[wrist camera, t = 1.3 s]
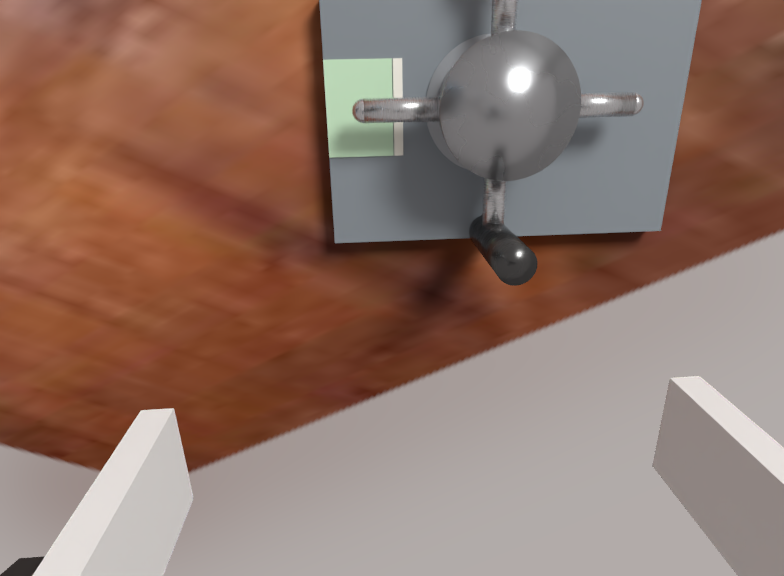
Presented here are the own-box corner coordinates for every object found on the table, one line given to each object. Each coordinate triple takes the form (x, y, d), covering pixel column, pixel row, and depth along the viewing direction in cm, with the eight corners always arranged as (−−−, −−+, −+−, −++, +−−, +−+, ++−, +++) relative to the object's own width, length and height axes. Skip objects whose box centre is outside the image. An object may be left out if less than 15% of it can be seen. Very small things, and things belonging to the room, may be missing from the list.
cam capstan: (358, 250, 31) (359, 292, 25) (343, -86, 25) (338, -142, 18) (606, 241, 32) (666, 278, 25) (651, -87, 25) (745, -141, 19)
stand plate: (335, 237, 32) (334, 243, 31) (320, -2, 27) (318, -6, 26) (650, 225, 33) (661, 231, 32) (689, -7, 28) (704, -11, 27)
